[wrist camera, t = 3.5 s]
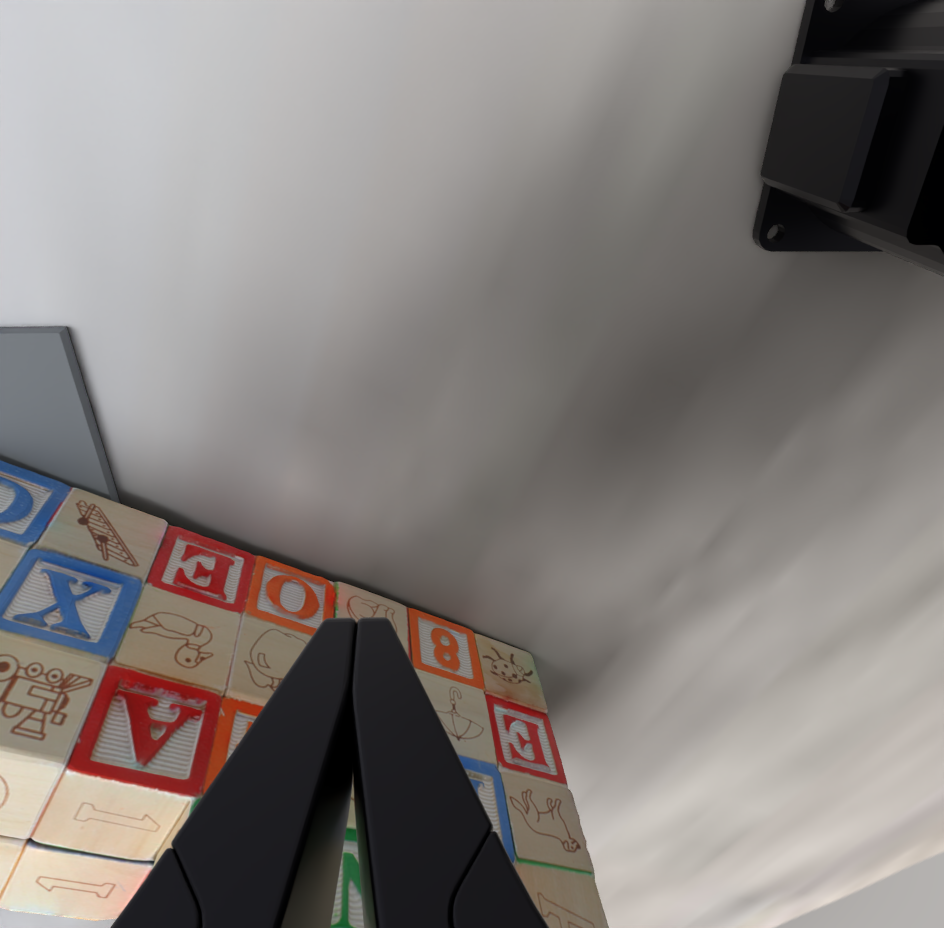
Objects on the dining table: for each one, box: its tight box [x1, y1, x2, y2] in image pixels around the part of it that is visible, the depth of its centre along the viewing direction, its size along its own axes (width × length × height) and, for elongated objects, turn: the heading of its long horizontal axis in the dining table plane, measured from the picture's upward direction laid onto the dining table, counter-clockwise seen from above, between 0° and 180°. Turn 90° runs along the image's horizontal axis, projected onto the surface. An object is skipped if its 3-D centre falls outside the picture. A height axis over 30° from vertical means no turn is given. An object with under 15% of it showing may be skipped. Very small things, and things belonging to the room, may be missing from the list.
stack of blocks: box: [0, 460, 609, 928], centre depth 20 cm, size 21×6×12 cm, turn 57°
